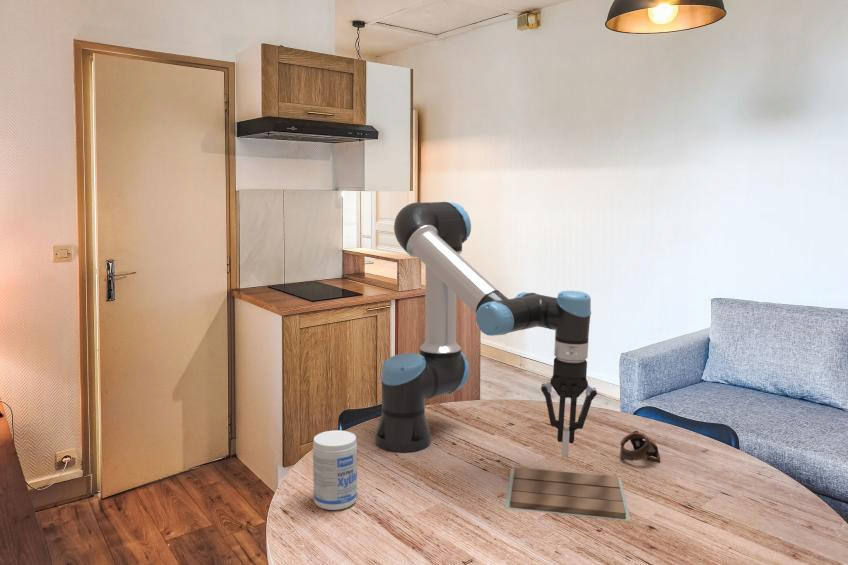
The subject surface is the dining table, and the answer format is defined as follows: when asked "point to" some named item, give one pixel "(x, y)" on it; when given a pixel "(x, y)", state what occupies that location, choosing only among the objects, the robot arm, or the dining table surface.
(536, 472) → the far plank
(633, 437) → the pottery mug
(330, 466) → the supplement tub
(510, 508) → the underlay mat
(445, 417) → the dining table surface
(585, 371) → the robot arm
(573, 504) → the laid strip
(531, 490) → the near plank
